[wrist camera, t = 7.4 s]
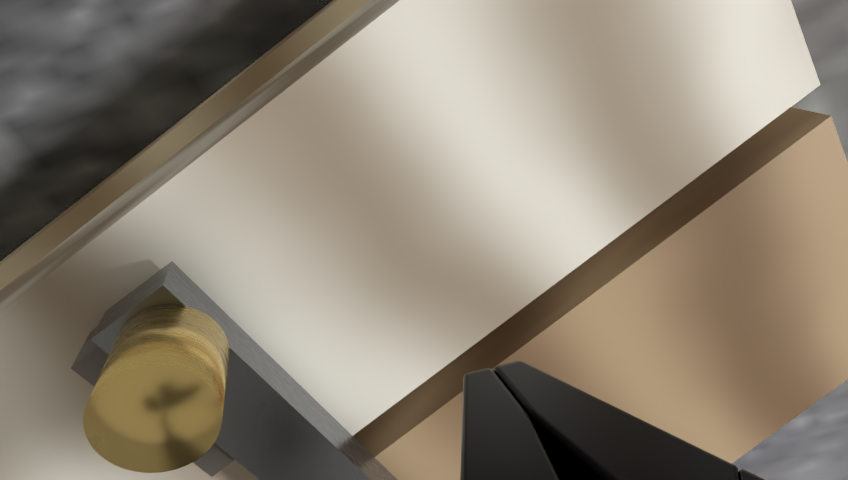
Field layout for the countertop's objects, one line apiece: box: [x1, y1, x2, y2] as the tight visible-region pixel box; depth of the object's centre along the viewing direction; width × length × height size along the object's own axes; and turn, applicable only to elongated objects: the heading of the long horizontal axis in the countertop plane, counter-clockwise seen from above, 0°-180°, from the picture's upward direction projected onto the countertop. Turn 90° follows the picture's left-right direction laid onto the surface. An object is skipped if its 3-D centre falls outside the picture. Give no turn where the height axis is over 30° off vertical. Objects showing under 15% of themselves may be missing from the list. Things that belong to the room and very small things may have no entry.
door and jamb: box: [0, 0, 848, 480], centre depth 18 cm, size 23×19×7 cm
